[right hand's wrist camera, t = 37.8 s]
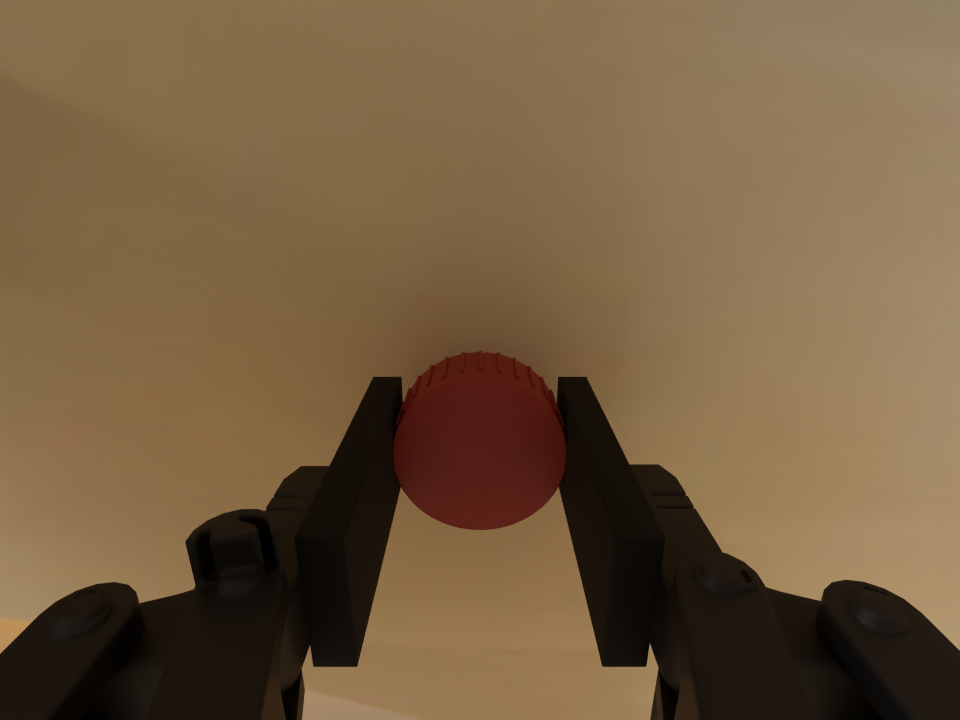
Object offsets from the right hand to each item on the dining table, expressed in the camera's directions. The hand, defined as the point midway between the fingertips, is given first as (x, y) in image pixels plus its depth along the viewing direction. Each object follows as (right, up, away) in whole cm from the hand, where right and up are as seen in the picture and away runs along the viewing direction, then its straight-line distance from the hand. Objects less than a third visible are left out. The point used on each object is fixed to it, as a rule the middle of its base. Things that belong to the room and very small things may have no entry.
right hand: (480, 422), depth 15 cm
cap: (0, -1, -1) cm, 2 cm away
